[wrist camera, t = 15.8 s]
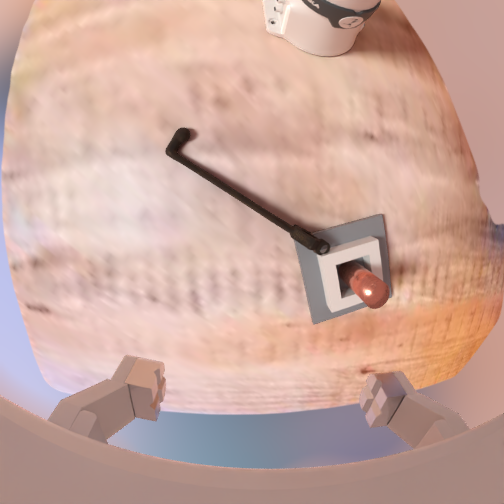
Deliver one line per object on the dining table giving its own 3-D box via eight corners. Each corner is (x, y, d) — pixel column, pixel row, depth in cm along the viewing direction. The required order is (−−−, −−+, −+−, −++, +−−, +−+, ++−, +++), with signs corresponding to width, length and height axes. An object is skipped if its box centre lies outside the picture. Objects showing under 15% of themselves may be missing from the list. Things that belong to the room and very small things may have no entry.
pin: (336, 263, 45) (363, 287, 35) (357, 256, 45) (388, 277, 35) (340, 284, 47) (366, 312, 36) (361, 277, 46) (390, 303, 36)
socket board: (293, 237, 45) (298, 243, 41) (379, 213, 45) (390, 217, 41) (312, 321, 49) (317, 332, 45) (389, 295, 49) (399, 303, 45)
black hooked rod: (186, 128, 42) (337, 230, 44) (169, 154, 43) (319, 255, 46) (176, 122, 37) (346, 236, 39) (157, 151, 38) (326, 264, 41)
